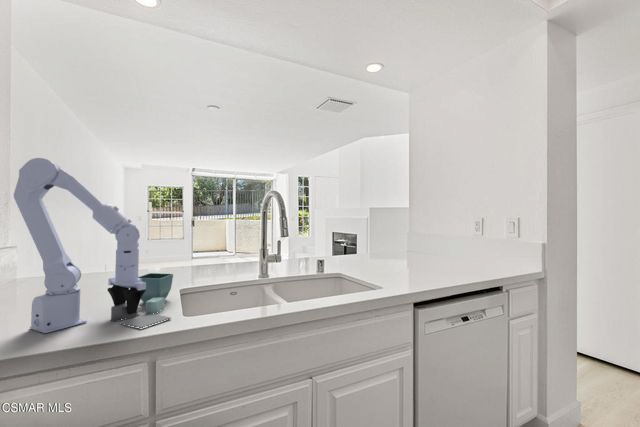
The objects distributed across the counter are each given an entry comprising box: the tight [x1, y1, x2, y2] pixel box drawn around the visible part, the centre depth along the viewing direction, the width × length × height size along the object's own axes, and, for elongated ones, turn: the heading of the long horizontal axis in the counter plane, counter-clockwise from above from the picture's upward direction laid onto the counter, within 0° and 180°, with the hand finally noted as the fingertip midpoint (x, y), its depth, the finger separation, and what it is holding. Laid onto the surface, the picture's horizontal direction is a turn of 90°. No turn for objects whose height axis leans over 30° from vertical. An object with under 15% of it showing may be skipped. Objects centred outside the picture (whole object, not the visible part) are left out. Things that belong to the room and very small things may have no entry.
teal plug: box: [145, 298, 166, 314], centre depth 97 cm, size 8×3×4 cm, turn 4°
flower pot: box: [138, 272, 174, 304], centre depth 107 cm, size 9×9×9 cm
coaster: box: [119, 313, 171, 328], centre depth 86 cm, size 9×9×1 cm
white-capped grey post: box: [110, 303, 143, 322], centre depth 90 cm, size 8×3×4 cm, turn 154°
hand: (126, 312), depth 90 cm, fingers open, 5 cm apart
